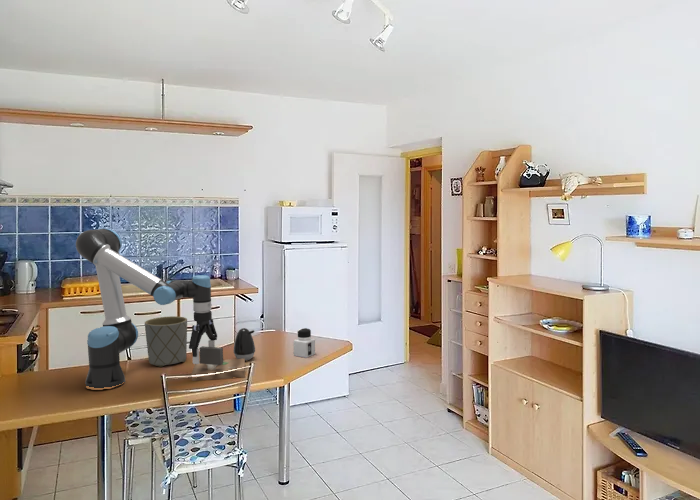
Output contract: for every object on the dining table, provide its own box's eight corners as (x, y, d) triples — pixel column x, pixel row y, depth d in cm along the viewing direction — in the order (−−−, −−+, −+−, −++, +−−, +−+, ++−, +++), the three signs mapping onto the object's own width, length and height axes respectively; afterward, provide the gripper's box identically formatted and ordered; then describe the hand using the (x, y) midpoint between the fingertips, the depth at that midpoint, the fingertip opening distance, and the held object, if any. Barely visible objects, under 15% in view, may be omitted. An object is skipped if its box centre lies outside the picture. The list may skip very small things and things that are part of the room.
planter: (155, 370, 241) (153, 327, 239) (140, 361, 255) (138, 320, 253) (195, 362, 253) (194, 320, 251) (178, 353, 268) (177, 314, 266)
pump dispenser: (251, 362, 251) (250, 331, 250) (230, 361, 253) (229, 330, 252) (258, 356, 261) (258, 326, 260) (238, 355, 263) (238, 325, 262)
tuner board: (191, 380, 226) (191, 373, 226) (195, 368, 244) (195, 361, 244) (244, 377, 231) (244, 369, 230) (244, 364, 248) (244, 358, 248)
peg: (220, 371, 230) (219, 349, 229) (199, 369, 232) (198, 348, 231) (233, 363, 241) (232, 342, 240) (213, 361, 243) (212, 341, 243)
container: (315, 354, 264) (315, 328, 263) (306, 358, 258) (305, 331, 257) (303, 351, 269) (302, 326, 267) (293, 355, 262) (292, 329, 261)
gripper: (195, 317, 218) (197, 368, 220) (224, 306, 242) (225, 351, 244) (178, 316, 220) (180, 367, 222) (209, 305, 244) (210, 350, 246)
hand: (204, 359), depth 233 cm, fingers open, 13 cm apart
